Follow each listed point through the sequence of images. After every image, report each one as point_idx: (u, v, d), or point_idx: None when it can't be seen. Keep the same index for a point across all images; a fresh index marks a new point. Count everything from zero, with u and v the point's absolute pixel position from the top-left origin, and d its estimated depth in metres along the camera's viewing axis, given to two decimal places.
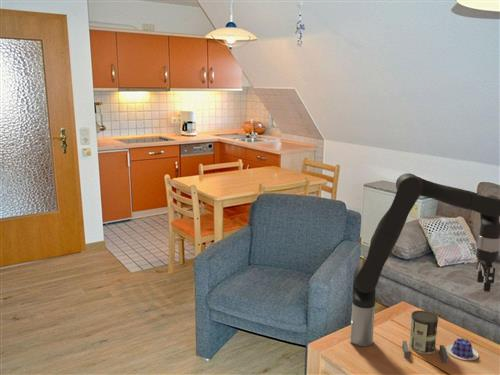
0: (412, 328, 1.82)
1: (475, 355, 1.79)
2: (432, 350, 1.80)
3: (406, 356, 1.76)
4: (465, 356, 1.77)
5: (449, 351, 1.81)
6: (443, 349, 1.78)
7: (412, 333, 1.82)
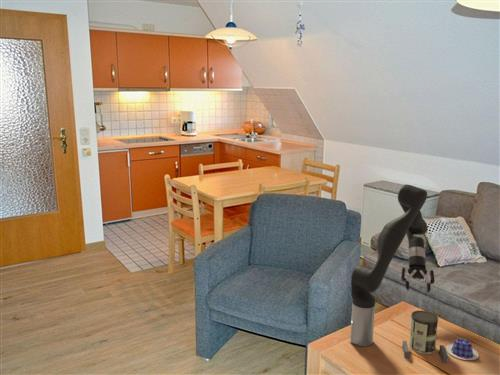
0: (412, 328, 1.82)
1: (475, 355, 1.78)
2: (432, 350, 1.80)
3: (406, 356, 1.76)
4: (465, 356, 1.77)
5: (449, 351, 1.81)
6: (443, 349, 1.78)
7: (412, 333, 1.82)
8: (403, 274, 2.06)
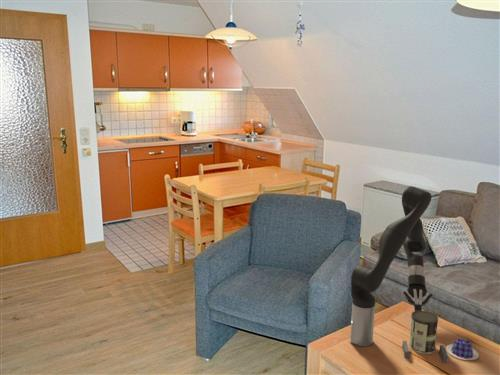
0: (412, 328, 1.82)
1: (475, 356, 1.78)
2: (432, 350, 1.80)
3: (406, 356, 1.76)
4: (464, 356, 1.77)
5: (449, 350, 1.82)
6: (443, 349, 1.78)
7: (412, 333, 1.82)
8: (409, 297, 1.99)
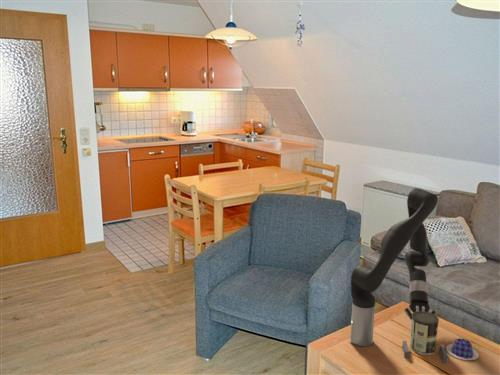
0: (412, 329, 1.81)
1: (475, 356, 1.78)
2: (433, 351, 1.79)
3: (406, 356, 1.76)
4: (464, 356, 1.77)
5: (449, 350, 1.82)
6: (443, 349, 1.78)
7: (412, 334, 1.82)
8: (411, 314, 1.91)
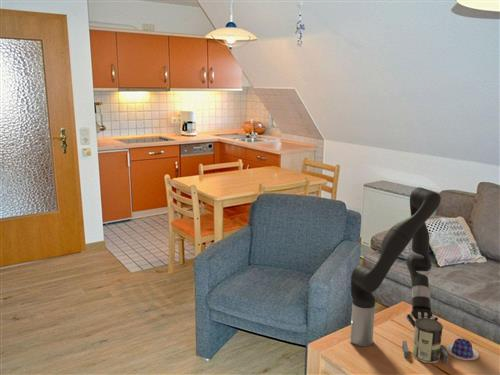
0: (416, 337, 1.75)
1: (475, 356, 1.78)
2: (437, 359, 1.74)
3: (406, 356, 1.76)
4: (463, 356, 1.77)
5: (448, 350, 1.82)
6: (443, 349, 1.78)
7: (416, 342, 1.76)
8: (413, 321, 1.86)
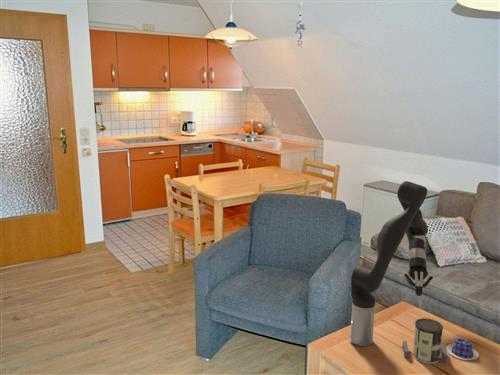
0: (416, 337, 1.75)
1: (474, 357, 1.78)
2: (437, 359, 1.74)
3: (406, 356, 1.76)
4: (462, 356, 1.77)
5: (448, 349, 1.82)
6: (443, 349, 1.78)
7: (416, 343, 1.75)
8: (410, 279, 2.00)
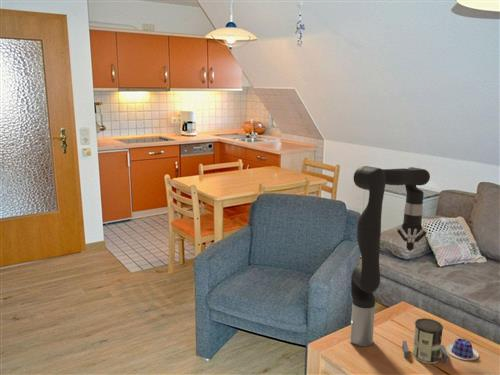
0: (416, 337, 1.75)
1: (474, 357, 1.77)
2: (437, 359, 1.74)
3: (406, 356, 1.76)
4: (462, 355, 1.77)
5: (448, 349, 1.83)
6: (443, 349, 1.78)
7: (416, 343, 1.75)
8: (402, 236, 1.97)
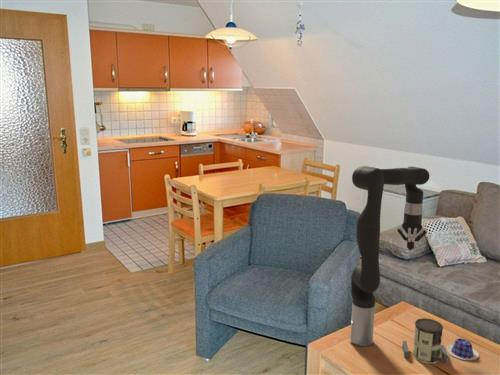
0: (416, 337, 1.75)
1: (474, 357, 1.77)
2: (437, 359, 1.74)
3: (406, 356, 1.76)
4: (462, 355, 1.77)
5: (448, 349, 1.83)
6: (443, 349, 1.78)
7: (416, 343, 1.75)
8: (402, 235, 1.97)
